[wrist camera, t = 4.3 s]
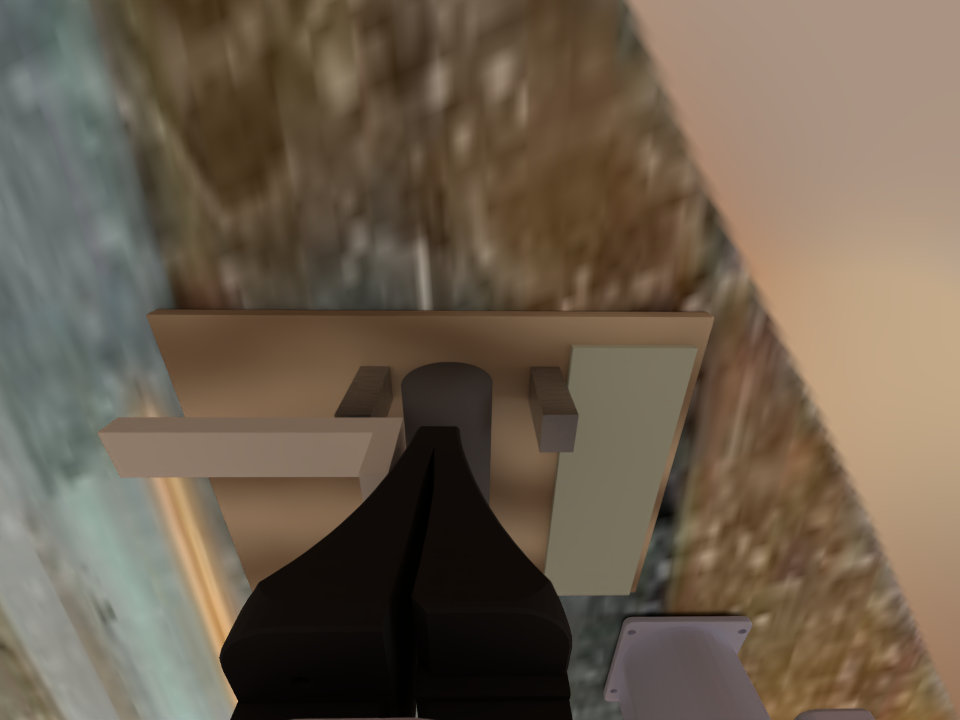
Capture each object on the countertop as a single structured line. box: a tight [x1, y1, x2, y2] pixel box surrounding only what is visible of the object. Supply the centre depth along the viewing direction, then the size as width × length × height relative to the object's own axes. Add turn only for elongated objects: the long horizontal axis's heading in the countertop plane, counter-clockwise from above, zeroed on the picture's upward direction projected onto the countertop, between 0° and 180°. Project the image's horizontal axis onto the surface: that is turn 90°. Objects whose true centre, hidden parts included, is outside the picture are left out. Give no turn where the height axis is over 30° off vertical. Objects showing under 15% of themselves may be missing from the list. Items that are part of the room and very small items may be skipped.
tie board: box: [146, 309, 715, 595], centre depth 18 cm, size 17×22×4 cm
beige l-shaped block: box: [97, 417, 406, 502], centre depth 12 cm, size 2×9×3 cm, turn 89°
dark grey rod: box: [401, 362, 493, 505], centre depth 18 cm, size 14×3×3 cm, turn 179°
